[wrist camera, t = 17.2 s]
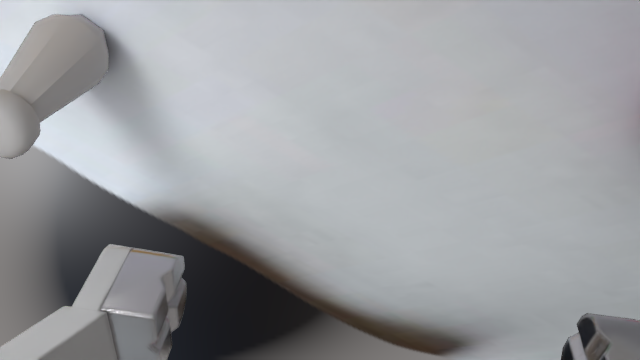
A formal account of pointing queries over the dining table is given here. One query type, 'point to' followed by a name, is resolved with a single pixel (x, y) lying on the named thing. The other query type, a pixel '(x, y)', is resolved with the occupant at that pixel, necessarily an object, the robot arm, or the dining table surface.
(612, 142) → the dining table surface
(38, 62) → the salt shaker
